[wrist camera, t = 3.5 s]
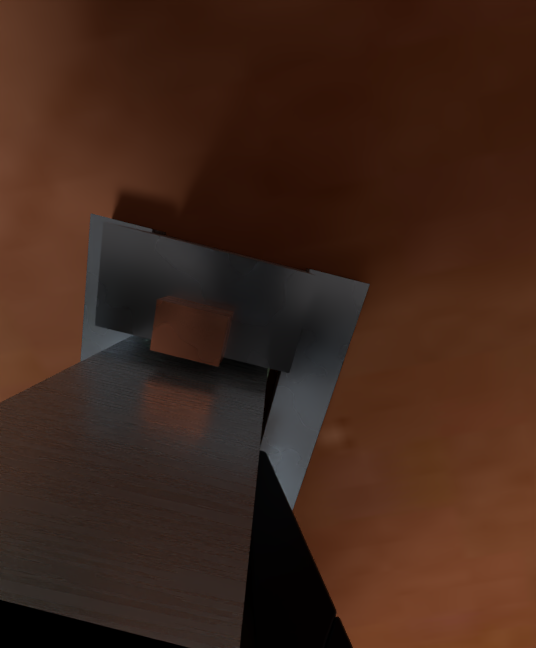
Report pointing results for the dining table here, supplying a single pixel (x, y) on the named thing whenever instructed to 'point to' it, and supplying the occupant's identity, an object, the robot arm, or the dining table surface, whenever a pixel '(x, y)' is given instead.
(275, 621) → the robot arm
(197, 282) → the grey square frame
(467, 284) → the dining table surface
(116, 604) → the grey rectangular block
